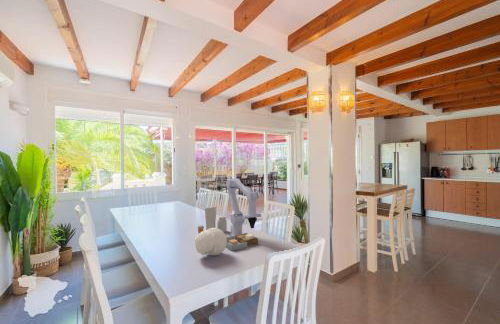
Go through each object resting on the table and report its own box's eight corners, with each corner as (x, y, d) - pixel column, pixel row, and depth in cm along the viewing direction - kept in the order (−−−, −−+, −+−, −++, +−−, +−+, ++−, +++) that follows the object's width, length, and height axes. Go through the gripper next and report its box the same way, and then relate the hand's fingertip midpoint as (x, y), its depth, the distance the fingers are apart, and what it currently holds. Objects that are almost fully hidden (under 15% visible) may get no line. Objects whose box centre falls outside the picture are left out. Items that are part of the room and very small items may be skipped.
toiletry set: (223, 229, 198) (223, 205, 197) (228, 231, 192) (228, 206, 192) (195, 235, 182) (195, 208, 182) (200, 237, 176) (200, 210, 176)
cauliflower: (214, 248, 156) (214, 223, 156) (233, 255, 145) (233, 228, 145) (188, 257, 140) (189, 229, 140) (208, 266, 129) (208, 236, 129)
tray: (220, 244, 163) (220, 238, 163) (234, 240, 170) (234, 235, 170) (232, 251, 150) (232, 245, 150) (247, 247, 157) (247, 242, 157)
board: (234, 240, 170) (234, 235, 170) (246, 238, 176) (246, 233, 176) (246, 246, 158) (246, 240, 158) (257, 243, 164) (257, 238, 164)
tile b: (245, 237, 165) (245, 234, 165) (250, 236, 168) (250, 233, 168) (248, 239, 161) (248, 236, 161) (254, 238, 164) (254, 235, 164)
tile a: (234, 239, 166) (234, 241, 166) (228, 240, 164) (228, 243, 164) (237, 240, 163) (237, 243, 163) (232, 242, 160) (232, 245, 160)
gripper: (246, 211, 160) (246, 231, 160) (263, 208, 169) (263, 227, 169) (241, 209, 166) (241, 228, 166) (257, 207, 174) (257, 225, 174)
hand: (252, 228), depth 168 cm, fingers closed
